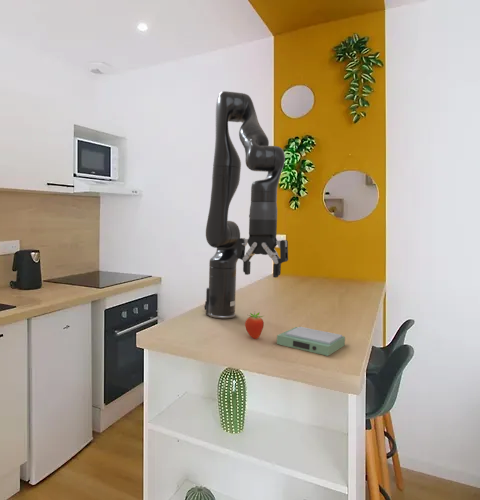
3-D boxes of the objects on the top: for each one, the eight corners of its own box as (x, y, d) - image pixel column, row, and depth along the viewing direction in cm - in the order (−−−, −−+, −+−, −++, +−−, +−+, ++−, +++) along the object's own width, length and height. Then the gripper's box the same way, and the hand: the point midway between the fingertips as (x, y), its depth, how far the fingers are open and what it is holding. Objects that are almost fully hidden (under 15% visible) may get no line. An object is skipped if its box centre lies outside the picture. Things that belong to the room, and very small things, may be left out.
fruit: (263, 342, 116) (264, 313, 116) (244, 340, 118) (244, 312, 117) (263, 336, 122) (264, 309, 121) (245, 335, 123) (246, 308, 122)
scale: (276, 344, 115) (276, 333, 114) (295, 335, 124) (296, 324, 123) (327, 356, 105) (328, 344, 105) (344, 345, 114) (345, 334, 114)
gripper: (293, 218, 115) (290, 276, 117) (245, 218, 124) (244, 272, 125) (282, 218, 110) (280, 279, 111) (233, 217, 118) (232, 274, 120)
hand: (261, 275), depth 118 cm, fingers open, 8 cm apart
